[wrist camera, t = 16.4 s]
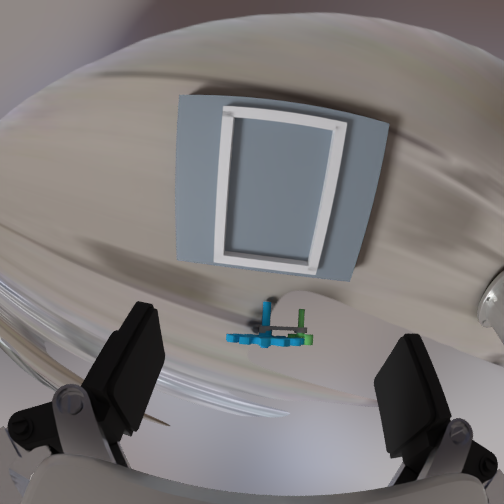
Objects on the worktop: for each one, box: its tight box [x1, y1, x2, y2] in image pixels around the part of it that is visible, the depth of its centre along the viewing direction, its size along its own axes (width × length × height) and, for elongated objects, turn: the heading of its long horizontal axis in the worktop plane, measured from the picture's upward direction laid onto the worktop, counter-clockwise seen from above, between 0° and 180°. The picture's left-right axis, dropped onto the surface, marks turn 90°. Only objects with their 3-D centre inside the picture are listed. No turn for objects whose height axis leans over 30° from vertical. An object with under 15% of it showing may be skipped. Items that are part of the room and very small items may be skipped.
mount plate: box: [175, 95, 389, 282], centre depth 27 cm, size 20×18×4 cm
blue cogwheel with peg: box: [226, 302, 313, 348], centre depth 34 cm, size 11×6×10 cm
